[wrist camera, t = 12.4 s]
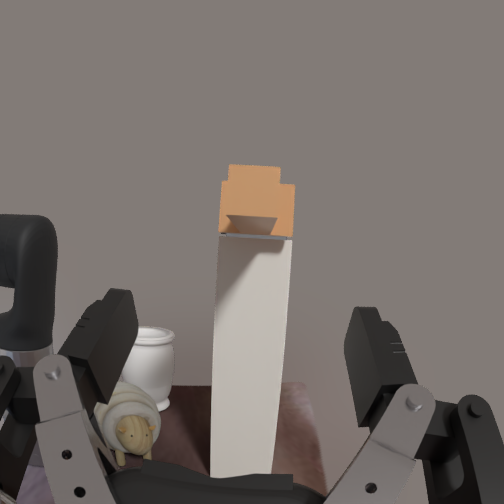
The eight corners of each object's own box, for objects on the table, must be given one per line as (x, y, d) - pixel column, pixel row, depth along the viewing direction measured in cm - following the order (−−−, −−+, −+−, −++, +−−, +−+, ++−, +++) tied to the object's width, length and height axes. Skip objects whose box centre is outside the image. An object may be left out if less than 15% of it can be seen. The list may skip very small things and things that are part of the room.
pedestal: (269, 481, 35) (294, 187, 35) (201, 475, 35) (212, 182, 36) (267, 427, 51) (284, 208, 51) (215, 423, 51) (226, 204, 52)
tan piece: (317, 220, 18) (319, 133, 18) (186, 212, 19) (195, 127, 19) (291, 237, 34) (294, 186, 34) (219, 232, 34) (223, 182, 34)
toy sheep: (112, 486, 29) (100, 416, 29) (83, 425, 42) (75, 366, 43) (183, 470, 36) (182, 405, 36) (139, 418, 49) (136, 362, 49)
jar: (143, 421, 48) (140, 342, 48) (112, 400, 54) (108, 328, 54) (185, 406, 57) (186, 334, 57) (152, 389, 63) (152, 323, 63)
